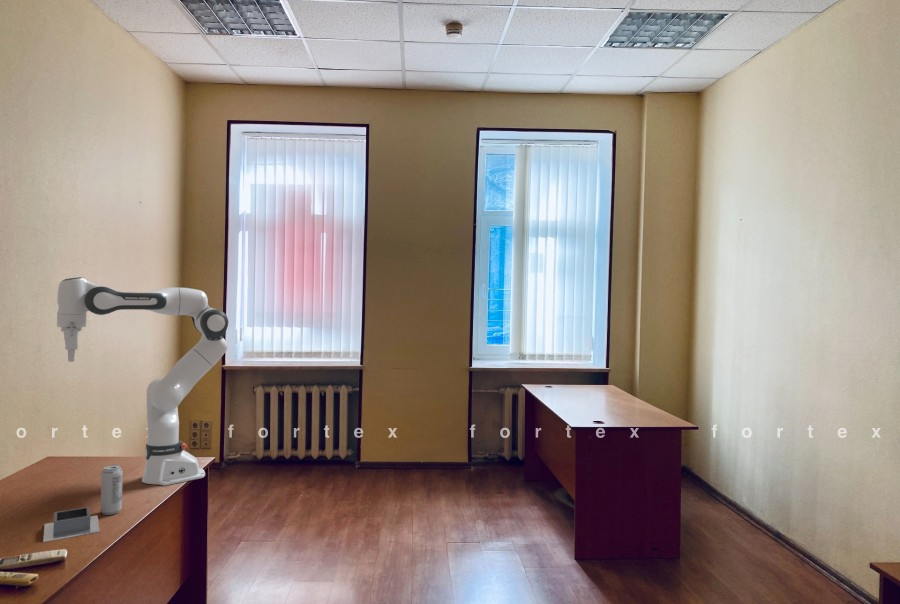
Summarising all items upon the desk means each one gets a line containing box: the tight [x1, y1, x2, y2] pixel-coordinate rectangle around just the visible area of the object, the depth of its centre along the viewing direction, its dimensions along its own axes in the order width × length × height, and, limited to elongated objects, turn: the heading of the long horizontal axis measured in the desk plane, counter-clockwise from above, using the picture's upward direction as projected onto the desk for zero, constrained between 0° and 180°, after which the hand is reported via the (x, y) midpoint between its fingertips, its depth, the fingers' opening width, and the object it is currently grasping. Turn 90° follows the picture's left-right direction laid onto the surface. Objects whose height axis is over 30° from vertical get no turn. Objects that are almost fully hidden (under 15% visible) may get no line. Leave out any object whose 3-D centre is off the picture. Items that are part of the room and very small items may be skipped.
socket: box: [42, 506, 100, 543], centre depth 175 cm, size 14×14×5 cm
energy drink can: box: [100, 464, 124, 516], centre depth 189 cm, size 6×6×15 cm
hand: (71, 360), depth 206 cm, fingers open, 8 cm apart
